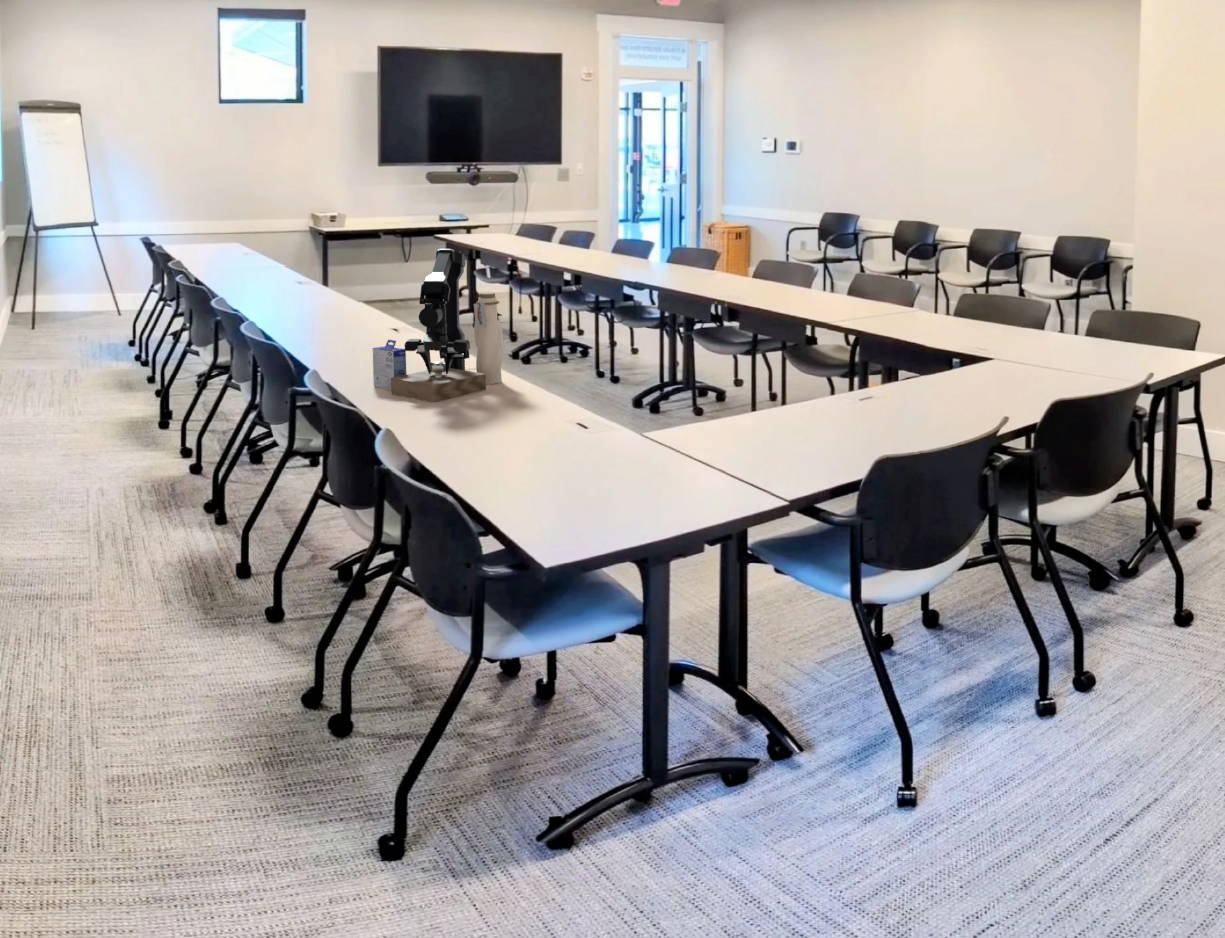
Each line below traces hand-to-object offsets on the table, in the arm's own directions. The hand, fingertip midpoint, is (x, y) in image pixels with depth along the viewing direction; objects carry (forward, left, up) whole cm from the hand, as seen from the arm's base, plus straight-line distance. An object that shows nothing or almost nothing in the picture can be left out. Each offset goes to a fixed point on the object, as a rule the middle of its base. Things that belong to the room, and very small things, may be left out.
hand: (438, 373), depth 341 cm
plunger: (0, 0, -5) cm, 5 cm away
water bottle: (-20, +2, -6) cm, 21 cm away
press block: (0, 0, -6) cm, 6 cm away
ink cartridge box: (+4, -17, -6) cm, 18 cm away
